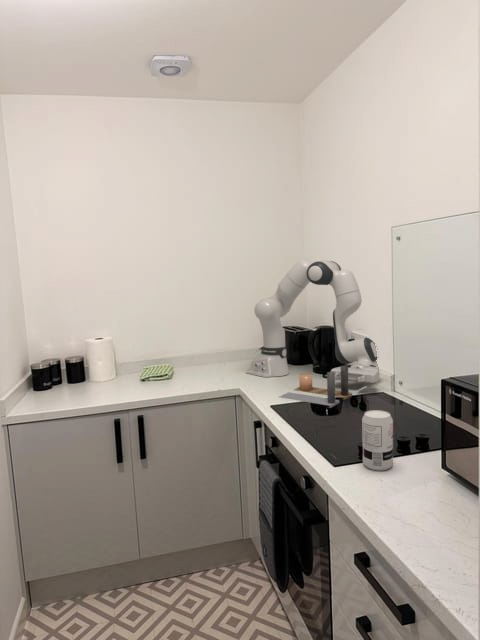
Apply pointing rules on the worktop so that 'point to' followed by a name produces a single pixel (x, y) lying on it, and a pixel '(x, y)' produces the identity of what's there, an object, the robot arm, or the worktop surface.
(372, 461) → the supplement can
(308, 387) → the tan rounded blob
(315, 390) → the walnut strip
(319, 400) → the slate-grey strip
